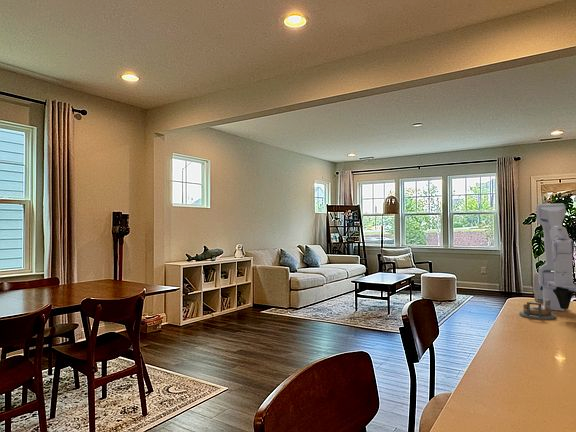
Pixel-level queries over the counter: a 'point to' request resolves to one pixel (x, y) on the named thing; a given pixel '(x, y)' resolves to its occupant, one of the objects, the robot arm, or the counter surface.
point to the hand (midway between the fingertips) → (564, 308)
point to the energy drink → (537, 290)
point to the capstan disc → (536, 310)
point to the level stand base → (540, 316)
